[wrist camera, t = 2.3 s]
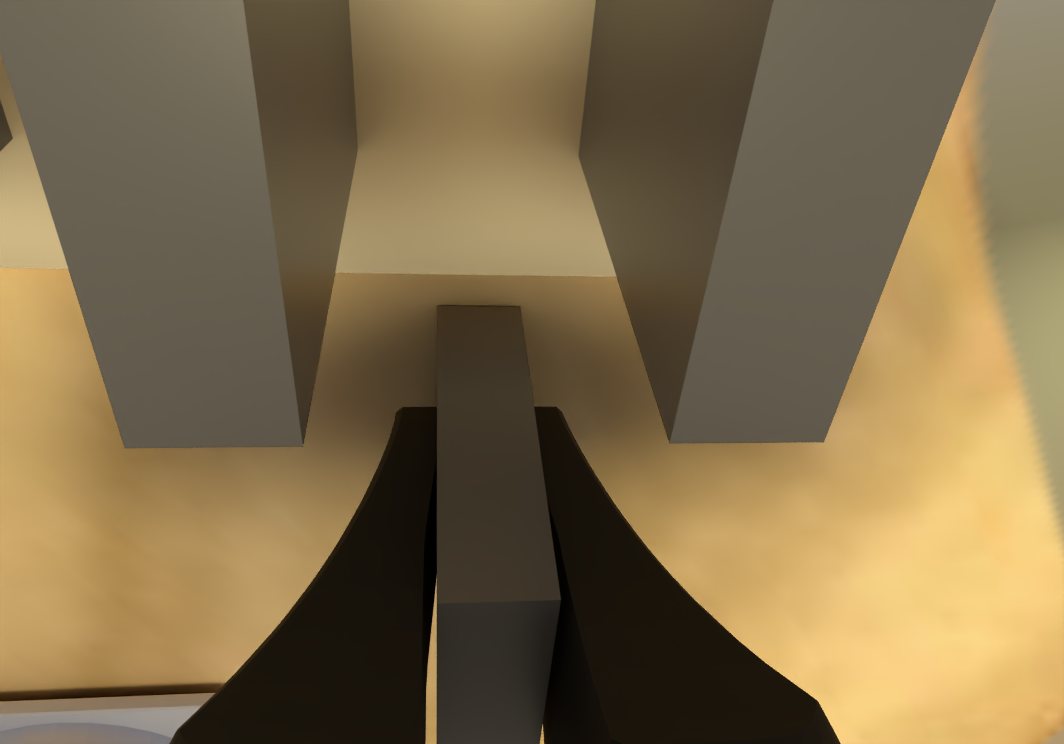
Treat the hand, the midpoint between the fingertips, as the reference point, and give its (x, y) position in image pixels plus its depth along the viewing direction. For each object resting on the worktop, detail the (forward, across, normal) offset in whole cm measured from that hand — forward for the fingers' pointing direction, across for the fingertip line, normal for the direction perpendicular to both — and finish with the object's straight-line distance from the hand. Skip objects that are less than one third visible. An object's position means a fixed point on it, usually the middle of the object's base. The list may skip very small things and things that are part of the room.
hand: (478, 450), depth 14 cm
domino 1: (+1, +2, -7) cm, 7 cm away
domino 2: (+1, 0, 0) cm, 1 cm away
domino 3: (+1, -2, -7) cm, 7 cm away
